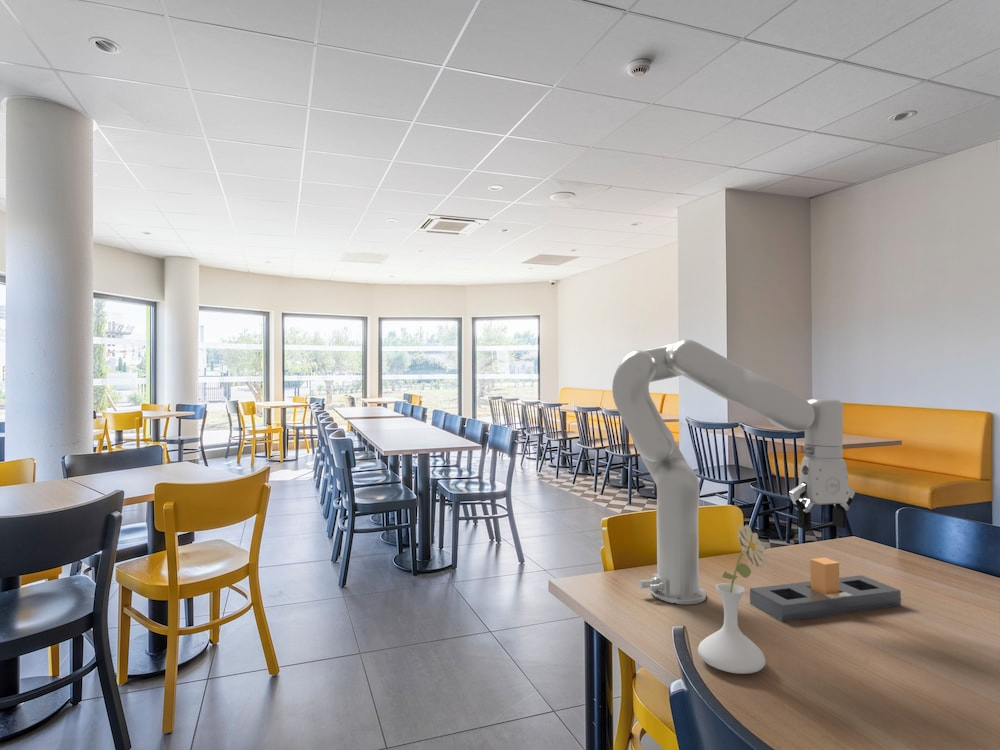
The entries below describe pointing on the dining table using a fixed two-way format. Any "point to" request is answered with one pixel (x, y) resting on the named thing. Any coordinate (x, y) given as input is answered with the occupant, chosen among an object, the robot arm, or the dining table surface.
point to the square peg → (824, 575)
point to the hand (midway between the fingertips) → (821, 527)
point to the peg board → (824, 599)
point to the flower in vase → (735, 617)
